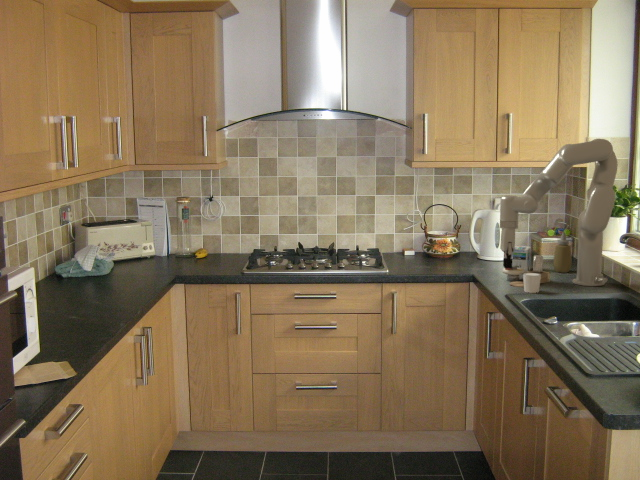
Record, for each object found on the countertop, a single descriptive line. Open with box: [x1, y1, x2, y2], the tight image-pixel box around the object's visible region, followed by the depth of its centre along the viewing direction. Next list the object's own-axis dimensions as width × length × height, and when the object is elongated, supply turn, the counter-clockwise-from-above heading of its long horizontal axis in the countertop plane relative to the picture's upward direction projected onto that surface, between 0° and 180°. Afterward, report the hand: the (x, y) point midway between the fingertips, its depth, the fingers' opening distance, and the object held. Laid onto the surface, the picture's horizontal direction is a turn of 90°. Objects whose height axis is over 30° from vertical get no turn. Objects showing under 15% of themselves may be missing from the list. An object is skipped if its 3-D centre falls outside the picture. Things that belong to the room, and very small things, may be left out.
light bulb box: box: [512, 245, 532, 273], centre depth 330 cm, size 11×7×11 cm, turn 155°
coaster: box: [509, 280, 524, 288], centre depth 299 cm, size 9×9×1 cm
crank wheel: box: [502, 265, 525, 275], centre depth 308 cm, size 9×9×8 cm
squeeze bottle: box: [553, 231, 573, 274], centre depth 325 cm, size 8×8×18 cm
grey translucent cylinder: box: [532, 254, 544, 273], centre depth 305 cm, size 4×4×11 cm
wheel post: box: [506, 274, 521, 282], centre depth 309 cm, size 5×5×3 cm
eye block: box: [526, 270, 551, 284], centre depth 306 cm, size 7×7×4 cm
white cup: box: [522, 273, 541, 294], centre depth 287 cm, size 7×7×7 cm
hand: (507, 267), depth 307 cm, fingers closed on crank wheel, 2 cm apart
